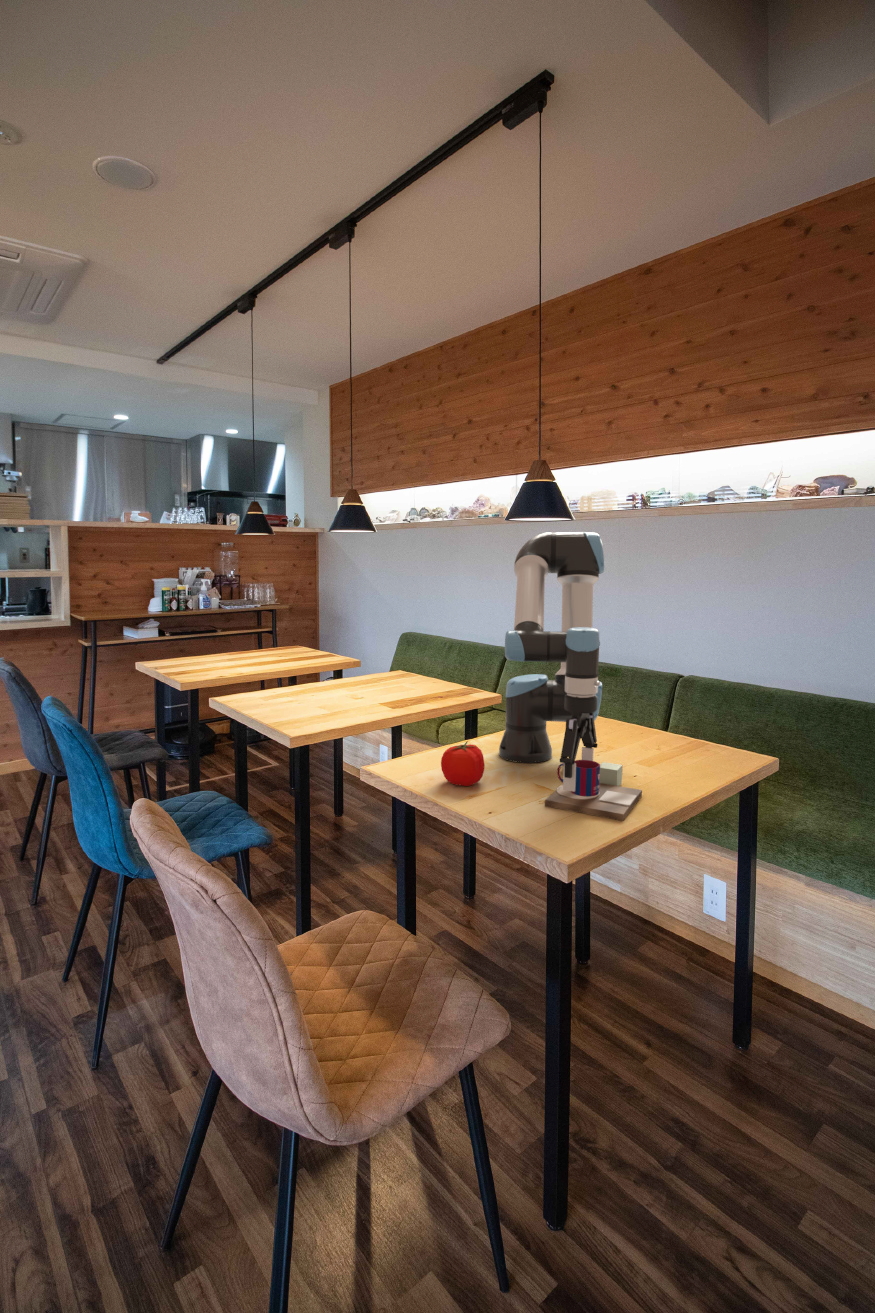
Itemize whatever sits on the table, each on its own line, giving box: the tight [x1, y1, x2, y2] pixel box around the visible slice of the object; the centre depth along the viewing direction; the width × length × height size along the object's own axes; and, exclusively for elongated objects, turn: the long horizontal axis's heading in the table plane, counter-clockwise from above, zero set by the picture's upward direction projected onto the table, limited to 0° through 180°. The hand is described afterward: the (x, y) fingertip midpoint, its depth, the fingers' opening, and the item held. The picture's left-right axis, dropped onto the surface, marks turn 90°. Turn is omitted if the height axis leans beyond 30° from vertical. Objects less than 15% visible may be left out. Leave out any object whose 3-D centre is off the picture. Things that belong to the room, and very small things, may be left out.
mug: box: [556, 759, 601, 796], centre depth 160 cm, size 7×10×7 cm
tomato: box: [440, 740, 485, 787], centre depth 171 cm, size 11×13×10 cm
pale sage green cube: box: [599, 761, 623, 786], centre depth 170 cm, size 5×5×5 cm
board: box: [544, 783, 643, 822], centre depth 159 cm, size 18×18×2 cm
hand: (578, 781), depth 160 cm, fingers open, 13 cm apart
